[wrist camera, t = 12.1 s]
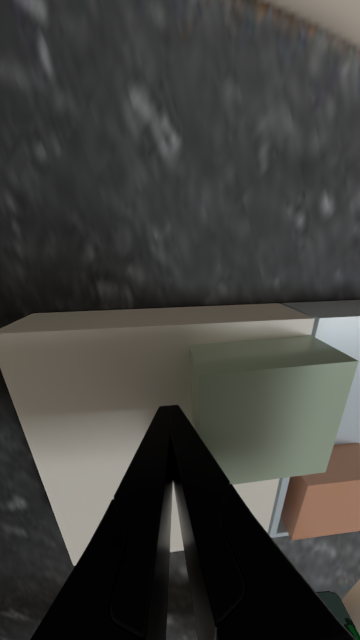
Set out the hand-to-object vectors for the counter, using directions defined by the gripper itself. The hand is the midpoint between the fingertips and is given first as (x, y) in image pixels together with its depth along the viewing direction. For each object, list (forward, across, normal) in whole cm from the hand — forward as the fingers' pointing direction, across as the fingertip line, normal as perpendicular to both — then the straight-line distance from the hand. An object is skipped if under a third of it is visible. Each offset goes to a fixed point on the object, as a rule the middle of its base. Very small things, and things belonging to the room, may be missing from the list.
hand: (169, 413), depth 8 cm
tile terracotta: (+2, -10, +8) cm, 13 cm away
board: (+3, 0, +4) cm, 5 cm away
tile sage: (+1, -4, 0) cm, 4 cm away
